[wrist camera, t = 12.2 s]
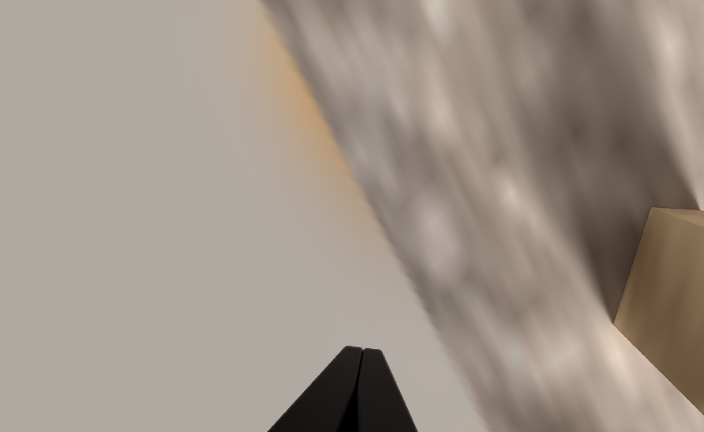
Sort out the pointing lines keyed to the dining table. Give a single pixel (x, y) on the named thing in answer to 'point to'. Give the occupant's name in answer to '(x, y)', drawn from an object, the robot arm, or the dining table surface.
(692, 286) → the domino
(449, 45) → the dining table surface
